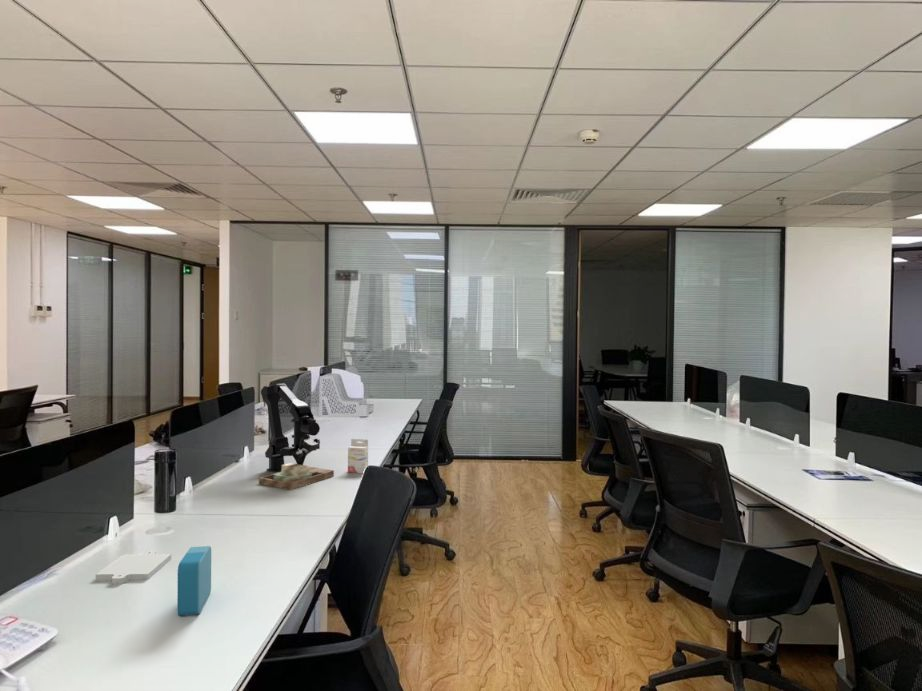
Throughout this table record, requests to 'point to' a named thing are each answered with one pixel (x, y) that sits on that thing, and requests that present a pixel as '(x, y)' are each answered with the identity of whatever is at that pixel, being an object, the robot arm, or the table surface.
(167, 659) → the table surface
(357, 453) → the ink cartridge box
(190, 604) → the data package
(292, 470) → the maple slab
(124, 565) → the mounting plate
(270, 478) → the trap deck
